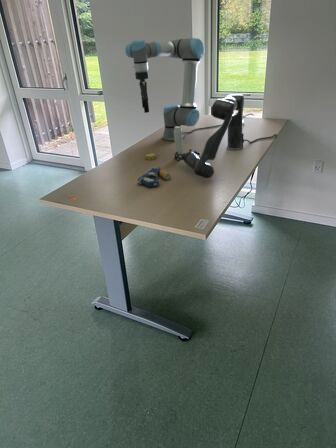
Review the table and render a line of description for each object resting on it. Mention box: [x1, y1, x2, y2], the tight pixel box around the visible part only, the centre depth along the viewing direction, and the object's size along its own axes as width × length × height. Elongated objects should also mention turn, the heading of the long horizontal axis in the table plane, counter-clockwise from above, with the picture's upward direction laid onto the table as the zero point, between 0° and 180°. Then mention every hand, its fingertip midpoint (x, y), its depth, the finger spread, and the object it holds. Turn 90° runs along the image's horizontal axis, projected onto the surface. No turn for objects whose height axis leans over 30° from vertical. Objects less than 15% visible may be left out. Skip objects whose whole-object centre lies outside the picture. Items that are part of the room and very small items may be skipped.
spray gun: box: [137, 166, 171, 188], centre depth 184 cm, size 21×4×15 cm
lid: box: [145, 153, 156, 161], centre depth 215 cm, size 5×5×2 cm
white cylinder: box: [174, 126, 184, 156], centre depth 206 cm, size 5×5×20 cm
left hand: (145, 109), depth 200 cm, fingers open, 13 cm apart
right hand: (183, 151), depth 201 cm, fingers open, 8 cm apart
